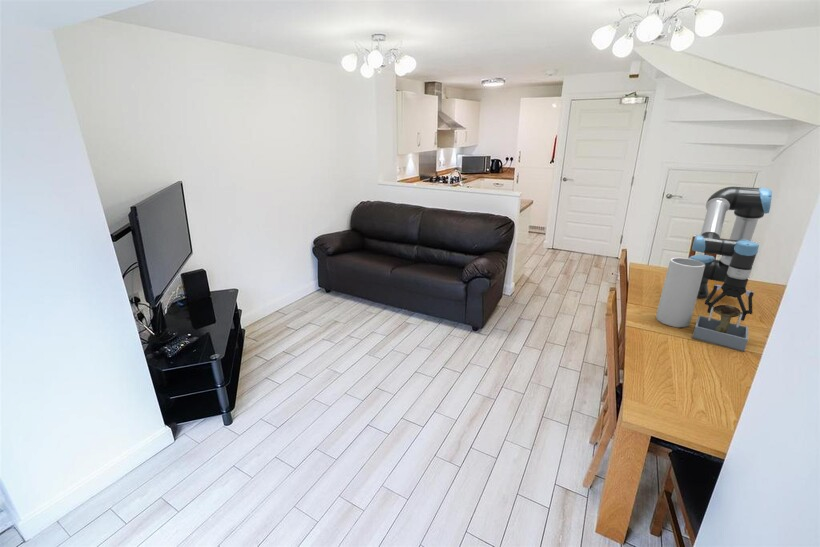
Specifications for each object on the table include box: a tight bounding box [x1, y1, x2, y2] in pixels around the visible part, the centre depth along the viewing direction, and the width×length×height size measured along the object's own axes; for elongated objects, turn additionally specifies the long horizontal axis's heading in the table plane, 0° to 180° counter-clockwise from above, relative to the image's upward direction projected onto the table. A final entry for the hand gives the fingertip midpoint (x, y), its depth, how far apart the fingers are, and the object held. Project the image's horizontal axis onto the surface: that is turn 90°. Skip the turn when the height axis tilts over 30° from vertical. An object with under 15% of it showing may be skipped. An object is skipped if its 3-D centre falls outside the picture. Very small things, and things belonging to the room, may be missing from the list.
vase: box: [655, 257, 705, 328], centre depth 187 cm, size 14×14×32 cm
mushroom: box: [713, 304, 742, 333], centre depth 174 cm, size 9×9×15 cm
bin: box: [691, 315, 749, 353], centre depth 176 cm, size 15×19×6 cm
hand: (722, 322), depth 174 cm, fingers closed on mushroom, 9 cm apart
